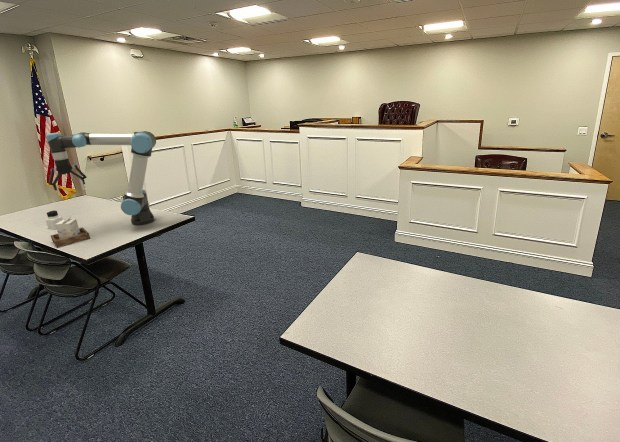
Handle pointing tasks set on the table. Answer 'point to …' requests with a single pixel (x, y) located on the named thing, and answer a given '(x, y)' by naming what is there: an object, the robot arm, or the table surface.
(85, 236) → the walnut tray
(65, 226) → the ink box
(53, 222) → the medicine bottle
